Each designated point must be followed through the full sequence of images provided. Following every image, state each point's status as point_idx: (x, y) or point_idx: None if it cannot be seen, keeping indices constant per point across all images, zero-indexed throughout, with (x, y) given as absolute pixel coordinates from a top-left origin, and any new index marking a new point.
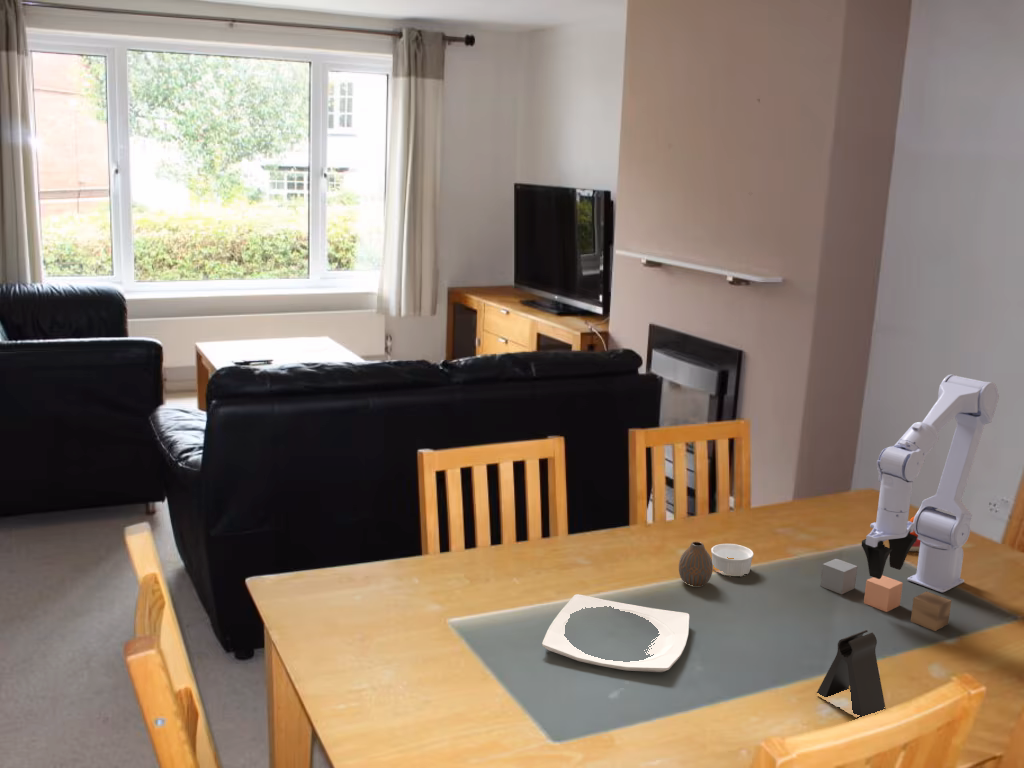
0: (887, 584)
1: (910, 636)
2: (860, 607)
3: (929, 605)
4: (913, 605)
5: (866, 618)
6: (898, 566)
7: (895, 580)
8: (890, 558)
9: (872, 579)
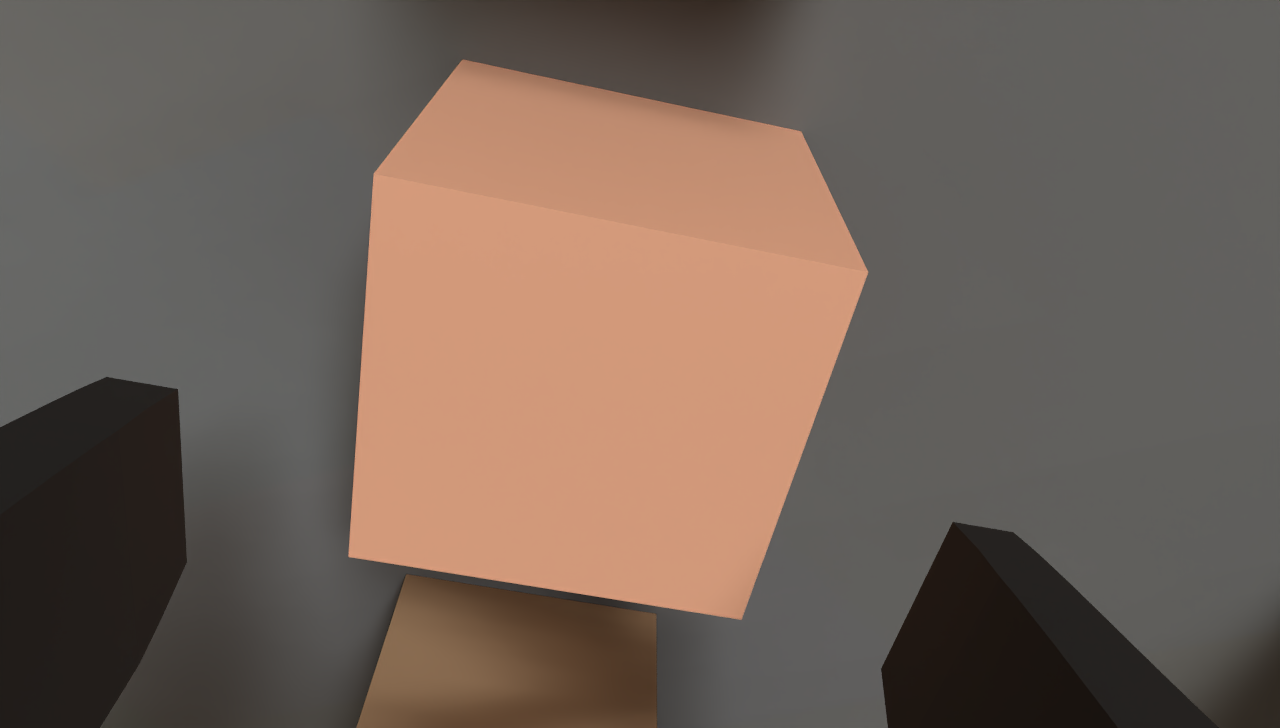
0: (490, 494)
1: None
2: (290, 75)
3: None
4: (359, 725)
5: (62, 243)
6: (907, 703)
7: (755, 531)
8: (1031, 653)
9: (508, 249)
